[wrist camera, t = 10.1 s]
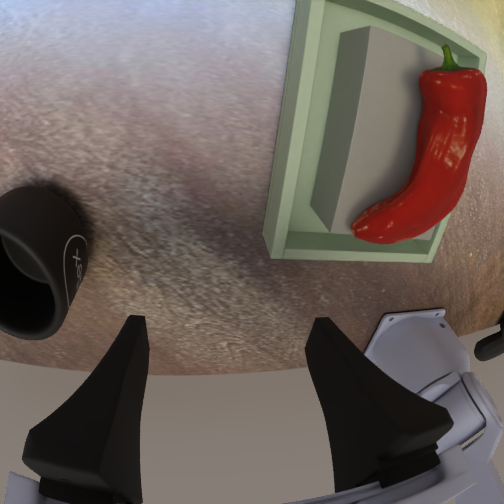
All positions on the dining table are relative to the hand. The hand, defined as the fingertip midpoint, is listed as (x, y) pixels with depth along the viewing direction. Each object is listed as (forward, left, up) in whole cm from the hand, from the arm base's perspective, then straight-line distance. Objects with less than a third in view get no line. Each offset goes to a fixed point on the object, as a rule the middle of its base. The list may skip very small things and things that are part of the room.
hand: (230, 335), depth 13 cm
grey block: (-10, -8, -10) cm, 16 cm away
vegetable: (-10, -8, -6) cm, 14 cm away
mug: (+15, +1, -11) cm, 18 cm away
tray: (-10, -8, -10) cm, 16 cm away
